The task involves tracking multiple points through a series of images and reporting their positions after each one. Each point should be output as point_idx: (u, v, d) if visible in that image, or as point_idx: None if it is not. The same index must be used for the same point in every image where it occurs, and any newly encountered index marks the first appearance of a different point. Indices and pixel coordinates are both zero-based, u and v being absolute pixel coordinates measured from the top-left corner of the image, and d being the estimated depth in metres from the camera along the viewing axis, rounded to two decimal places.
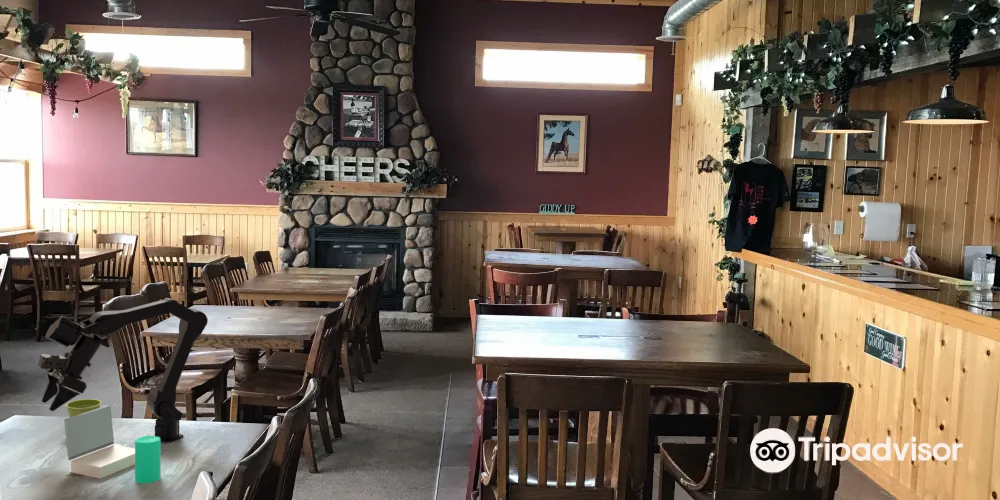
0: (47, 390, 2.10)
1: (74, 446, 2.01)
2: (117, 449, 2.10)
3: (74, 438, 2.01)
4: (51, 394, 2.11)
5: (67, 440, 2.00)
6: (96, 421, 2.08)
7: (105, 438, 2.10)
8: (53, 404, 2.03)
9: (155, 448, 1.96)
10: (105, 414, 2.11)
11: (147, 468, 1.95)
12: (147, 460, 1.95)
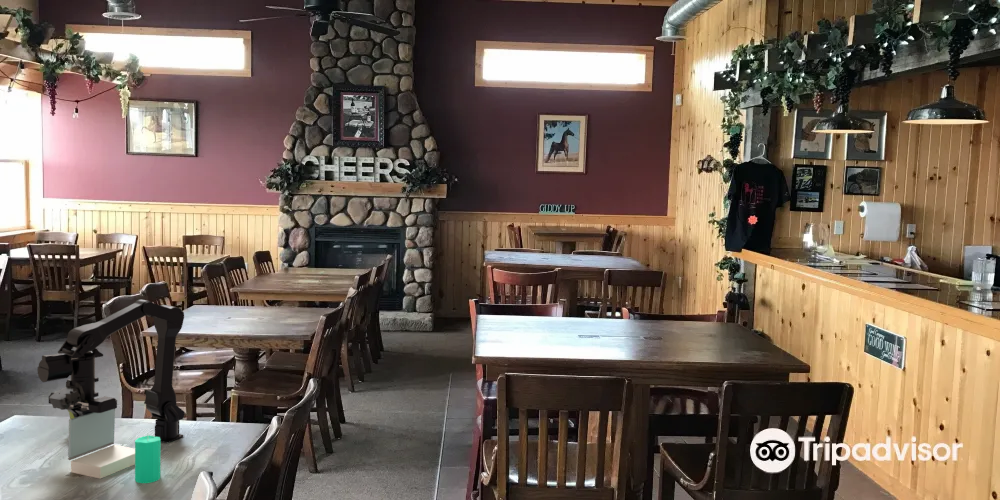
0: None
1: (75, 446, 2.01)
2: (117, 449, 2.10)
3: (76, 439, 2.01)
4: None
5: (69, 440, 2.00)
6: (99, 422, 2.08)
7: (106, 438, 2.10)
8: None
9: (156, 448, 1.96)
10: (109, 415, 2.10)
11: (147, 468, 1.95)
12: (147, 460, 1.95)
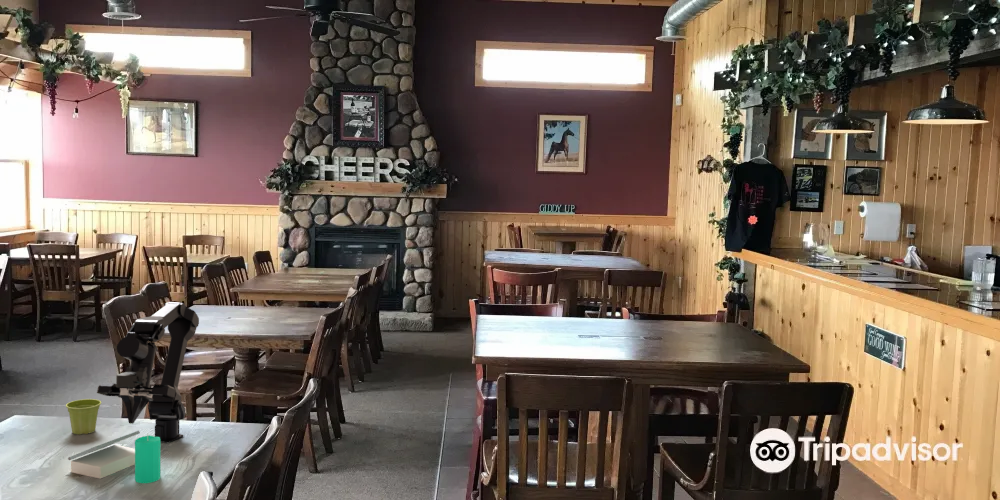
0: (130, 410, 2.04)
1: None
2: (117, 449, 2.10)
3: (88, 452, 2.00)
4: None
5: (81, 453, 1.98)
6: (117, 441, 2.06)
7: (110, 444, 2.10)
8: (134, 416, 2.04)
9: (155, 448, 1.96)
10: None
11: (147, 468, 1.95)
12: (147, 460, 1.95)
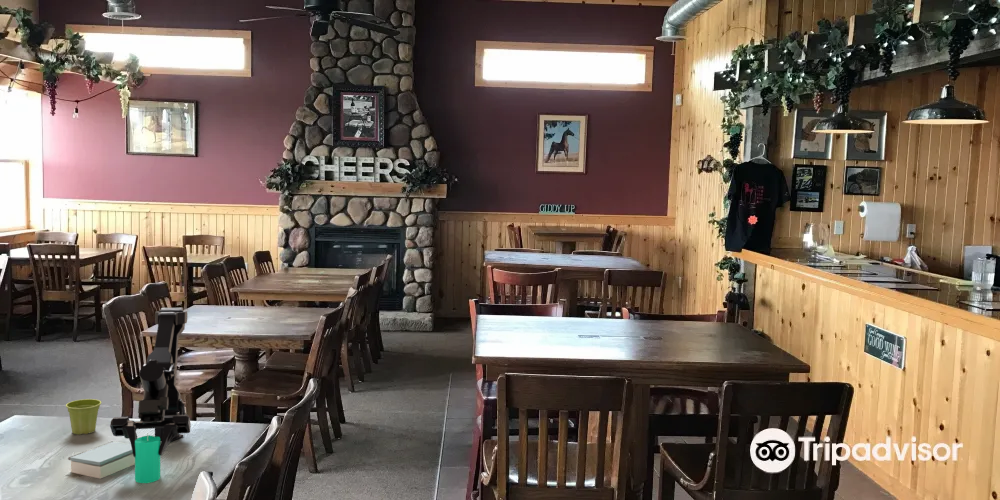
0: None
1: None
2: None
3: None
4: None
5: (83, 461, 1.98)
6: None
7: None
8: (163, 447, 1.98)
9: (155, 447, 1.96)
10: None
11: (147, 468, 1.95)
12: (147, 460, 1.95)
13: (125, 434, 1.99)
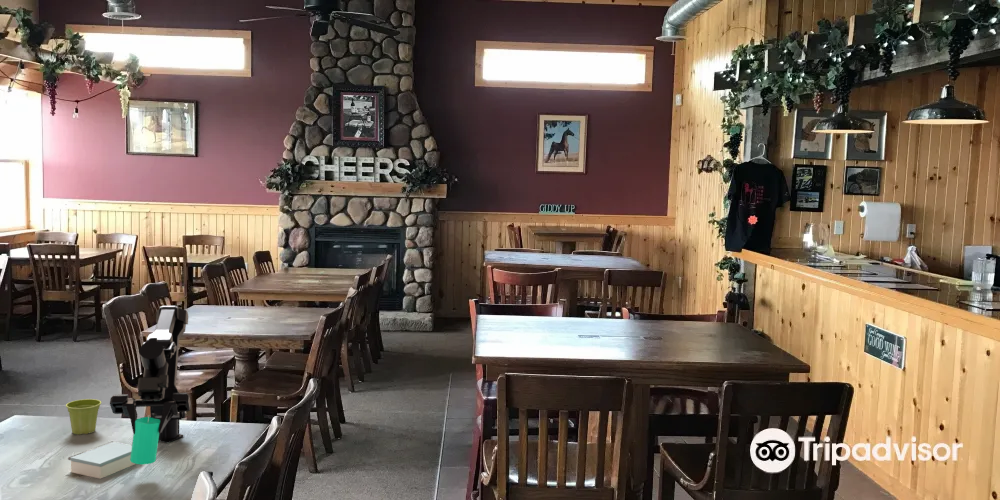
0: (135, 420, 1.96)
1: None
2: None
3: None
4: None
5: (83, 461, 1.98)
6: None
7: None
8: (163, 425, 1.97)
9: (155, 430, 1.96)
10: None
11: (145, 449, 1.95)
12: (146, 441, 1.94)
13: (125, 412, 1.98)
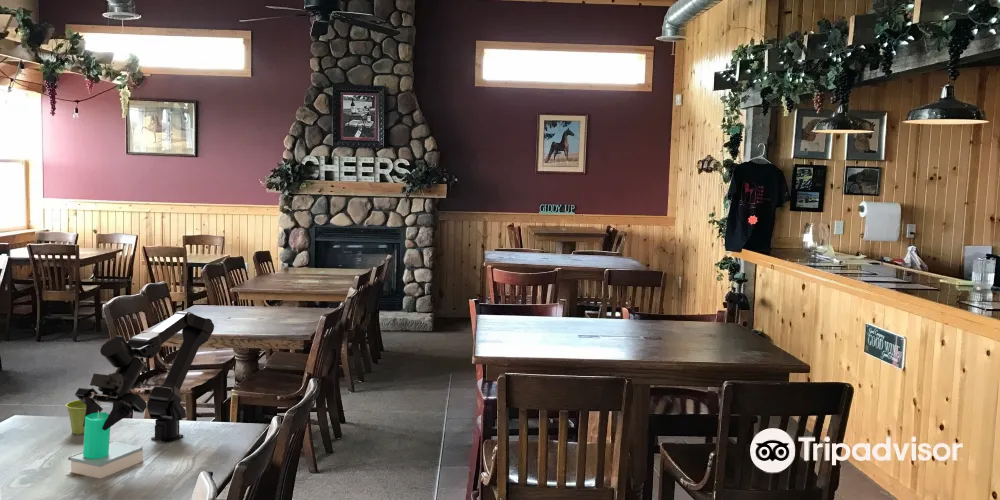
0: None
1: None
2: None
3: None
4: None
5: (83, 461, 1.98)
6: None
7: None
8: (108, 423, 2.00)
9: (100, 426, 1.99)
10: None
11: (90, 444, 1.99)
12: (90, 436, 1.99)
13: None
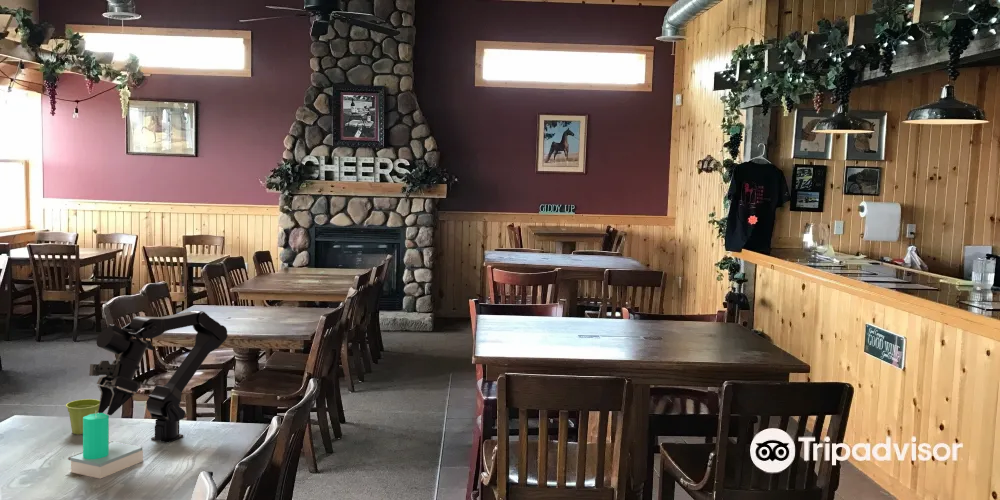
0: (102, 401, 2.14)
1: None
2: None
3: None
4: (106, 404, 2.14)
5: (83, 461, 1.98)
6: None
7: None
8: (110, 408, 2.06)
9: (98, 425, 1.99)
10: None
11: (89, 444, 1.99)
12: (89, 436, 1.99)
13: None
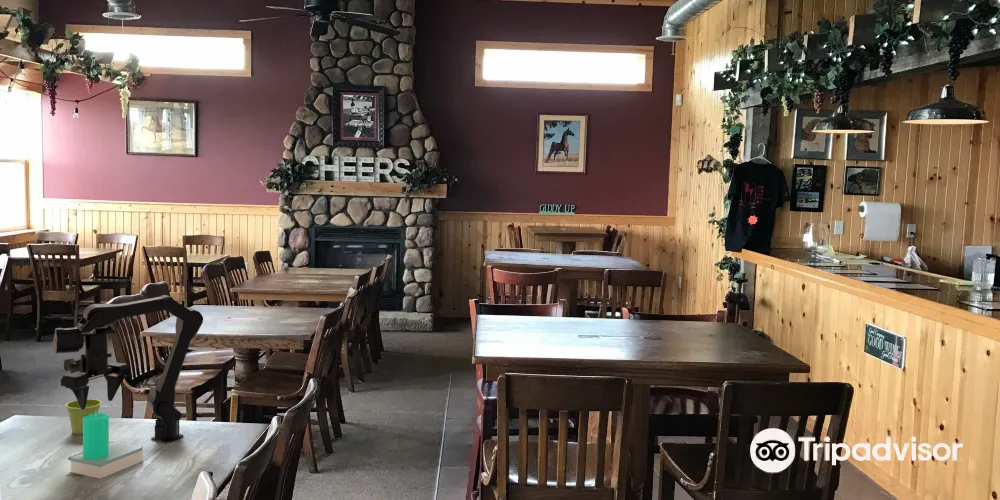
0: (108, 389, 2.20)
1: None
2: None
3: None
4: (111, 392, 2.19)
5: (83, 461, 1.98)
6: None
7: None
8: (79, 403, 2.11)
9: (98, 425, 1.99)
10: None
11: (89, 444, 1.99)
12: (89, 436, 1.99)
13: None
